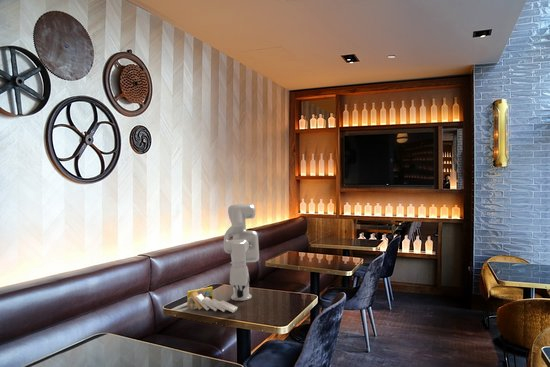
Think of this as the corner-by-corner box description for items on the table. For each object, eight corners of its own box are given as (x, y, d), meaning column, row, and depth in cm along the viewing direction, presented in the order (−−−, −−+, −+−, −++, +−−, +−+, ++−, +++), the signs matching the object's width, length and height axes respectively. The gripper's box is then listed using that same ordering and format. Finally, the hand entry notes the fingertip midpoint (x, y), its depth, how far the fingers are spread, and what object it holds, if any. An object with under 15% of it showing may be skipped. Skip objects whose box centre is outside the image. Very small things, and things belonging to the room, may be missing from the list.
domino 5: (233, 312, 217) (217, 305, 220) (236, 309, 222) (221, 302, 225) (234, 310, 217) (218, 302, 220) (237, 307, 222) (222, 300, 225)
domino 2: (207, 310, 223) (194, 298, 225) (211, 307, 227) (199, 295, 230) (208, 308, 222) (196, 296, 225) (212, 305, 227) (200, 293, 229)
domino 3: (215, 311, 221) (201, 301, 224) (219, 308, 226) (205, 298, 228) (216, 309, 221) (202, 299, 223) (220, 306, 225) (207, 296, 228)
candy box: (188, 305, 233) (188, 292, 233) (187, 305, 235) (186, 291, 235) (213, 300, 243) (212, 286, 243) (211, 299, 244) (211, 286, 244)
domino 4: (224, 312, 219) (209, 303, 222) (227, 309, 224) (213, 300, 227) (224, 309, 219) (210, 301, 222) (228, 306, 224) (214, 298, 227)
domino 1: (199, 309, 224) (190, 294, 226) (203, 306, 229) (194, 292, 231) (201, 308, 224) (192, 293, 226) (205, 305, 229) (196, 290, 230)
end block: (187, 309, 226) (187, 299, 226) (193, 306, 232) (192, 296, 232) (192, 309, 225) (192, 299, 225) (197, 306, 231) (197, 296, 231)
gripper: (223, 265, 217) (225, 298, 218) (249, 266, 213) (250, 300, 213) (229, 262, 225) (231, 294, 225) (254, 263, 220) (255, 296, 220)
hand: (240, 297), depth 219 cm, fingers closed
